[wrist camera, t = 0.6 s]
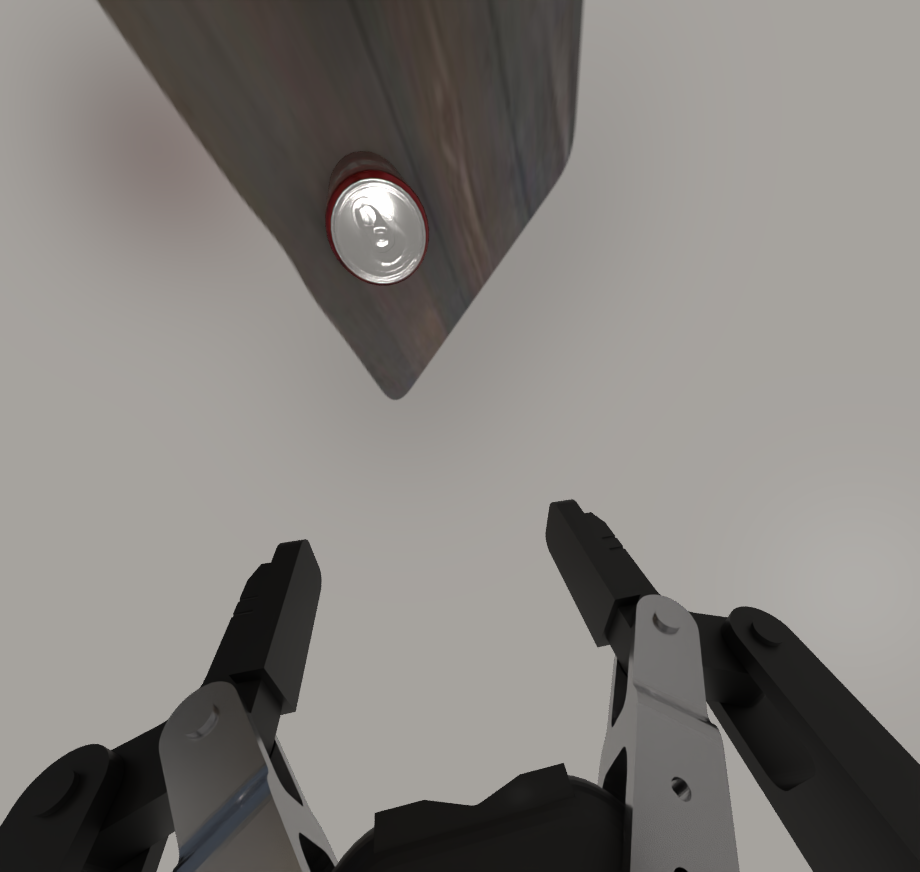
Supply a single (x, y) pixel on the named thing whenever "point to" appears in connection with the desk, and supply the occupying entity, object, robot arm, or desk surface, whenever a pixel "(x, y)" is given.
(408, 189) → the soda can
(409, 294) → the desk surface
